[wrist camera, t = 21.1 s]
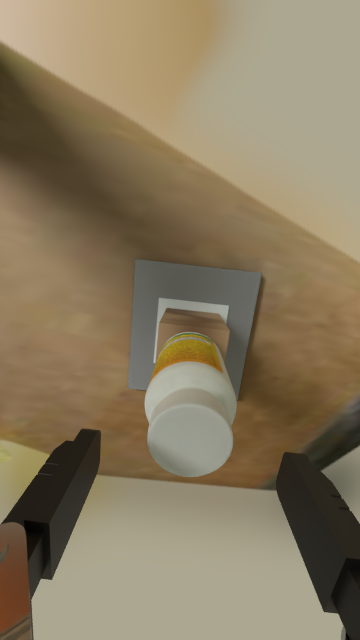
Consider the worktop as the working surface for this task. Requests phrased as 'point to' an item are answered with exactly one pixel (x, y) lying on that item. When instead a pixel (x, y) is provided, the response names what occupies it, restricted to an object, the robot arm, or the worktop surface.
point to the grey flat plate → (189, 294)
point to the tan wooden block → (192, 327)
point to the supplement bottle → (190, 407)
